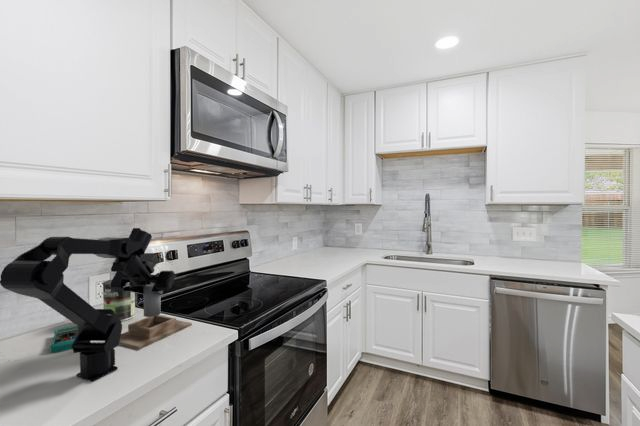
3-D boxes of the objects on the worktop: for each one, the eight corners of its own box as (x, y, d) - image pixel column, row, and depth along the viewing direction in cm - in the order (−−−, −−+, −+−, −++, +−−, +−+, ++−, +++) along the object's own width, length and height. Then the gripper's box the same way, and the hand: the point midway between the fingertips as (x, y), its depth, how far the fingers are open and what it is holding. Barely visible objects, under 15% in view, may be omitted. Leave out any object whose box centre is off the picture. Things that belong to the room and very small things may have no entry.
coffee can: (119, 323, 112) (118, 285, 111) (96, 321, 114) (95, 283, 114) (142, 314, 122) (141, 278, 121) (120, 312, 124) (119, 277, 124)
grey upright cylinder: (157, 316, 101) (156, 280, 101) (140, 317, 101) (140, 280, 101) (163, 311, 106) (162, 276, 106) (147, 311, 106) (147, 276, 106)
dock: (139, 349, 92) (139, 336, 92) (108, 341, 97) (108, 329, 97) (191, 325, 110) (191, 314, 110) (163, 319, 116) (163, 309, 116)
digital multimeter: (50, 355, 89) (49, 345, 89) (55, 337, 101) (54, 328, 101) (82, 348, 94) (81, 339, 94) (83, 332, 106) (83, 323, 106)
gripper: (172, 246, 99) (189, 273, 110) (115, 246, 99) (137, 272, 111) (159, 276, 91) (178, 302, 102) (97, 276, 92) (123, 301, 103)
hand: (154, 293), depth 105 cm, fingers closed on grey upright cylinder, 5 cm apart
